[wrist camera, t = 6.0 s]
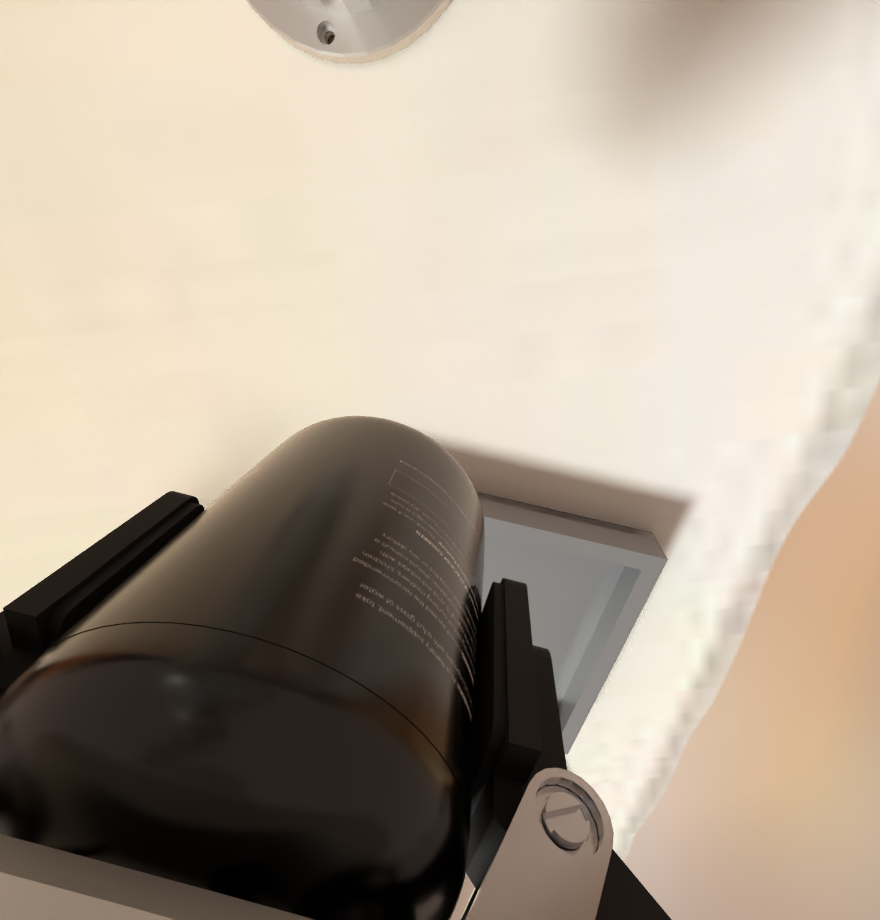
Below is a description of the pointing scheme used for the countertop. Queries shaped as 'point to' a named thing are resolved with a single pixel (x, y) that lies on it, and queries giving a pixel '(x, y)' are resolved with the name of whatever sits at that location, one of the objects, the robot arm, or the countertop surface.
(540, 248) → the countertop surface
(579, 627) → the tray
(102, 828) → the supplement bottle
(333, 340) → the countertop surface
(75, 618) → the robot arm
